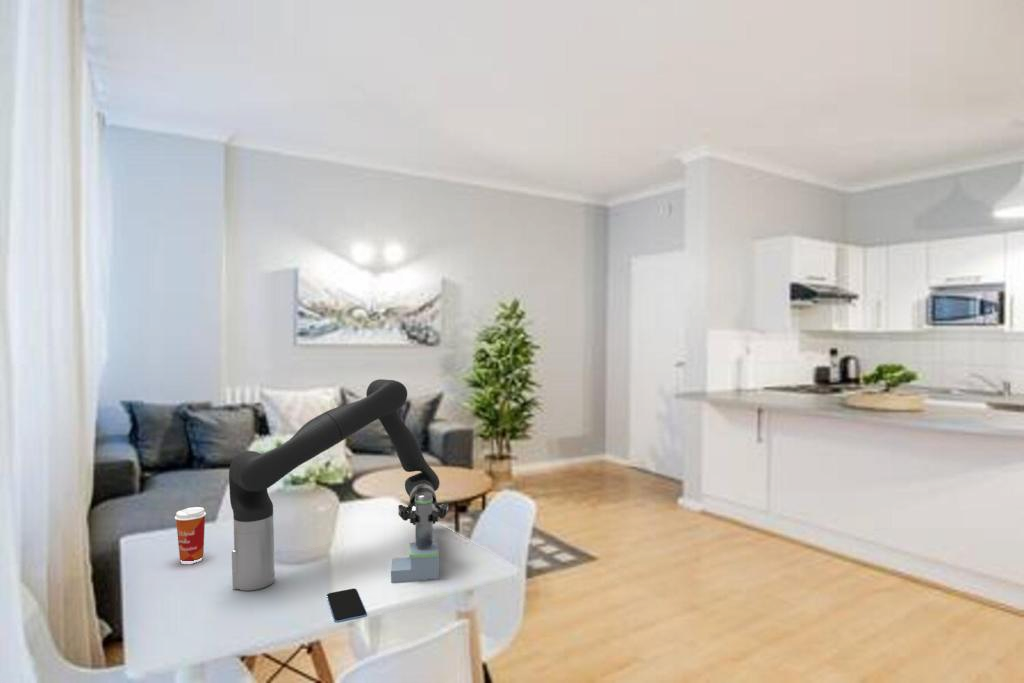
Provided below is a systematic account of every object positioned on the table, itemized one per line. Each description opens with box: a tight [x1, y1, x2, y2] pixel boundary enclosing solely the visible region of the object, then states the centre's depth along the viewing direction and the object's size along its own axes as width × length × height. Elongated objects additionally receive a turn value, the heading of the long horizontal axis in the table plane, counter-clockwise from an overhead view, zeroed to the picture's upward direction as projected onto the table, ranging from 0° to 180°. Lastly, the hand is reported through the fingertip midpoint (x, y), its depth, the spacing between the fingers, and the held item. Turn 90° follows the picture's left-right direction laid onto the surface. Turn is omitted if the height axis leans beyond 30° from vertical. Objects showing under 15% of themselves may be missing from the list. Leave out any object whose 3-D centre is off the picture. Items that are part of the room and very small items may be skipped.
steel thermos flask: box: [414, 492, 434, 547], centre depth 156 cm, size 5×5×13 cm
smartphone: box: [326, 588, 368, 624], centre depth 139 cm, size 7×1×15 cm
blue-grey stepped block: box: [390, 540, 440, 584], centre depth 155 cm, size 12×8×7 cm
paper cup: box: [174, 506, 207, 561], centre depth 165 cm, size 8×8×14 cm
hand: (424, 520), depth 153 cm, fingers closed on steel thermos flask, 4 cm apart
